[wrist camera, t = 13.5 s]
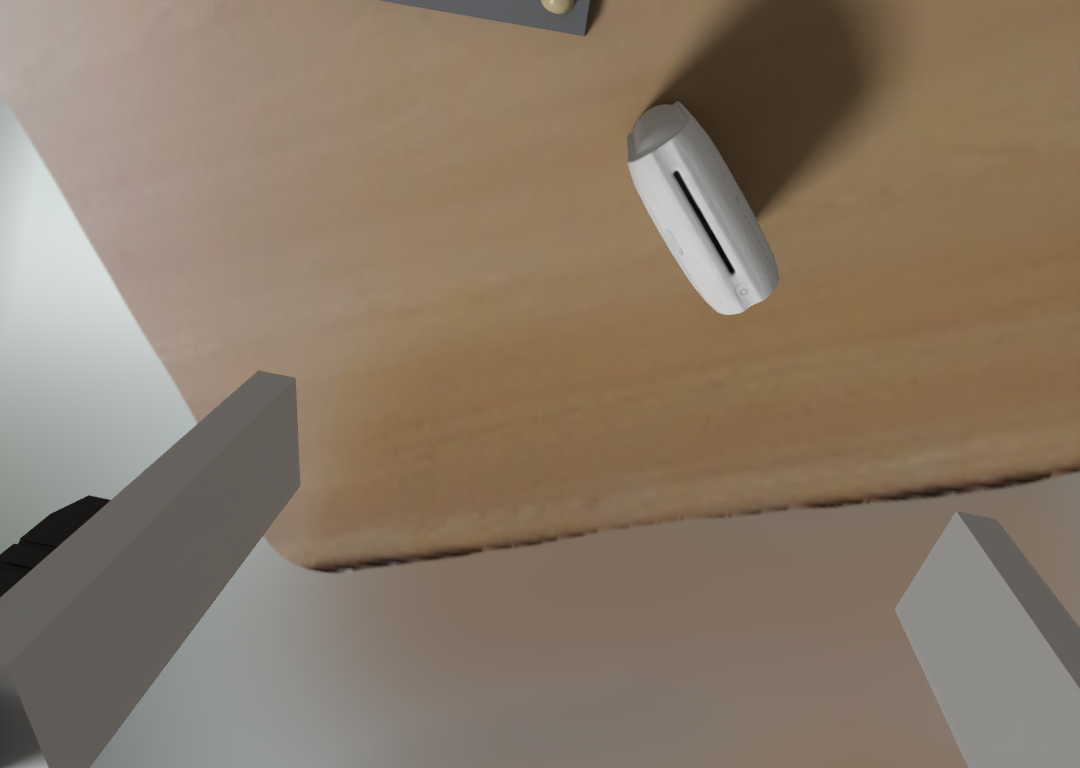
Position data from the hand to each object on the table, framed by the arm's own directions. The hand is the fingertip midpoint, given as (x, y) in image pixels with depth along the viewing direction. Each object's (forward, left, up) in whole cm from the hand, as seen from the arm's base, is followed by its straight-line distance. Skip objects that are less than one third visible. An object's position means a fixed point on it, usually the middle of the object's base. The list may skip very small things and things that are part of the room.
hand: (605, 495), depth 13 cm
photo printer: (-4, -1, -32) cm, 32 cm away
